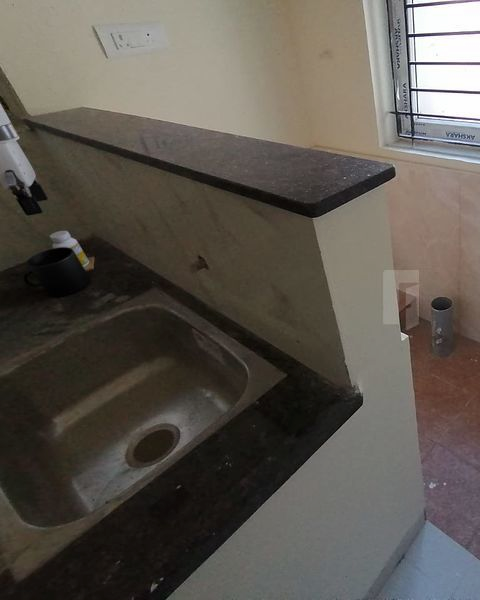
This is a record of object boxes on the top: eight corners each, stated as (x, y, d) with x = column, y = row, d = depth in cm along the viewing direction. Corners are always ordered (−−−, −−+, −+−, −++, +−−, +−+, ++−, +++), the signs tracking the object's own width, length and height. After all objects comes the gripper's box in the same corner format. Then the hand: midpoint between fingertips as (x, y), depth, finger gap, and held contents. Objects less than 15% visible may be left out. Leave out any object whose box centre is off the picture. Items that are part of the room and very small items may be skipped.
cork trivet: (63, 277, 104) (61, 275, 103) (65, 265, 108) (64, 263, 108) (93, 269, 106) (92, 267, 106) (94, 258, 111) (93, 256, 111)
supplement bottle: (62, 268, 106) (41, 237, 100) (81, 258, 110) (62, 228, 104) (74, 272, 104) (54, 240, 98) (94, 262, 108) (75, 231, 102)
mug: (35, 288, 100) (13, 258, 94) (90, 272, 105) (72, 243, 100) (34, 306, 93) (10, 275, 88) (92, 288, 99) (73, 258, 93)
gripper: (-18, 128, 90) (24, 198, 100) (-39, 145, 78) (12, 223, 88) (22, 124, 93) (60, 193, 103) (8, 140, 81) (52, 216, 91)
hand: (37, 207), depth 96 cm, fingers open, 9 cm apart
